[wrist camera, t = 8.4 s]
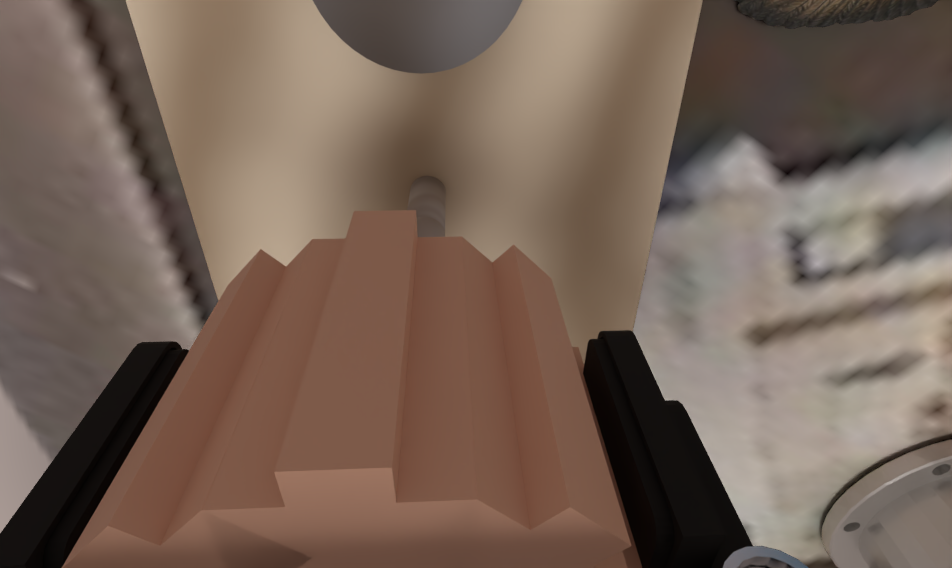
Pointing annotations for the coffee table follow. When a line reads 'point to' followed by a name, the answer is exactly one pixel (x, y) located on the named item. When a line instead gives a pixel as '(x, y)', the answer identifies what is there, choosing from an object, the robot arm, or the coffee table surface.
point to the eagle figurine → (827, 11)
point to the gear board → (428, 128)
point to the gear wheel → (372, 422)
